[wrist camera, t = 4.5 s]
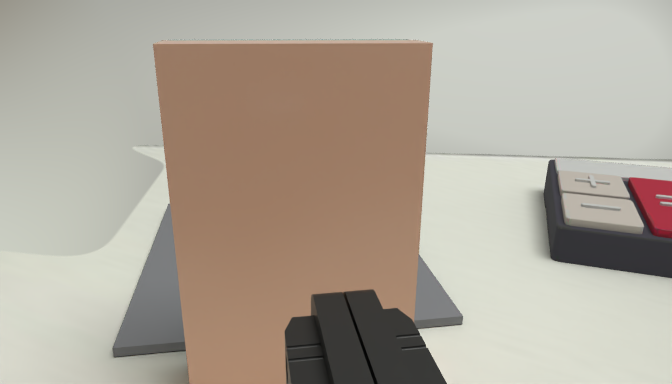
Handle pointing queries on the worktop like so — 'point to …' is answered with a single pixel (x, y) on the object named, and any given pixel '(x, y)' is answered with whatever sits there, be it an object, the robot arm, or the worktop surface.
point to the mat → (166, 314)
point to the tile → (288, 186)
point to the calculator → (610, 215)
